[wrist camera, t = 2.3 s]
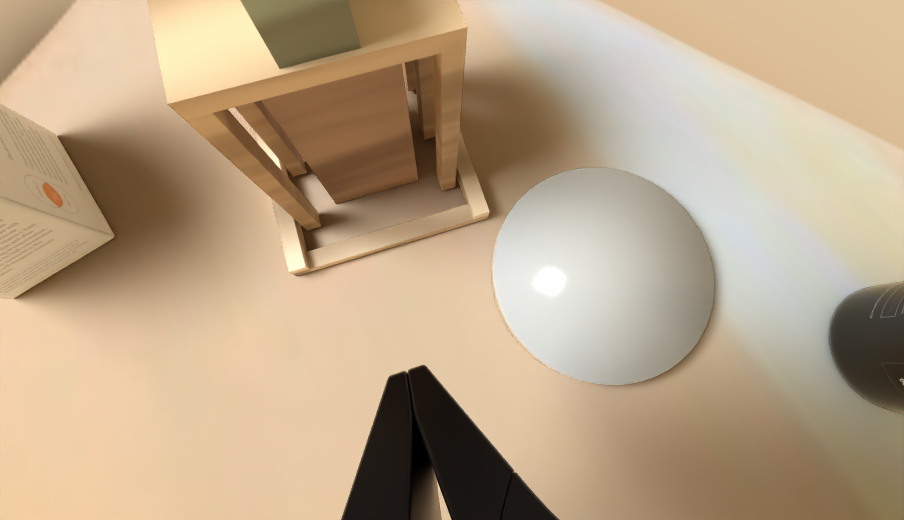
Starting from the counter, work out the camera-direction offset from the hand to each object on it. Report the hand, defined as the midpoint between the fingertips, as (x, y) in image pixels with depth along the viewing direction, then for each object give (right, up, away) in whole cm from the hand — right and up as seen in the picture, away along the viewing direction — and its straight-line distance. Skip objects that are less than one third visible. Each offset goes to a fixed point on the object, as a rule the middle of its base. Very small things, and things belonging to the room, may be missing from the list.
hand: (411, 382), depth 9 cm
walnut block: (-4, +9, +16) cm, 19 cm away
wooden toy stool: (-4, +9, +15) cm, 18 cm away
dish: (+9, +2, +14) cm, 17 cm away
